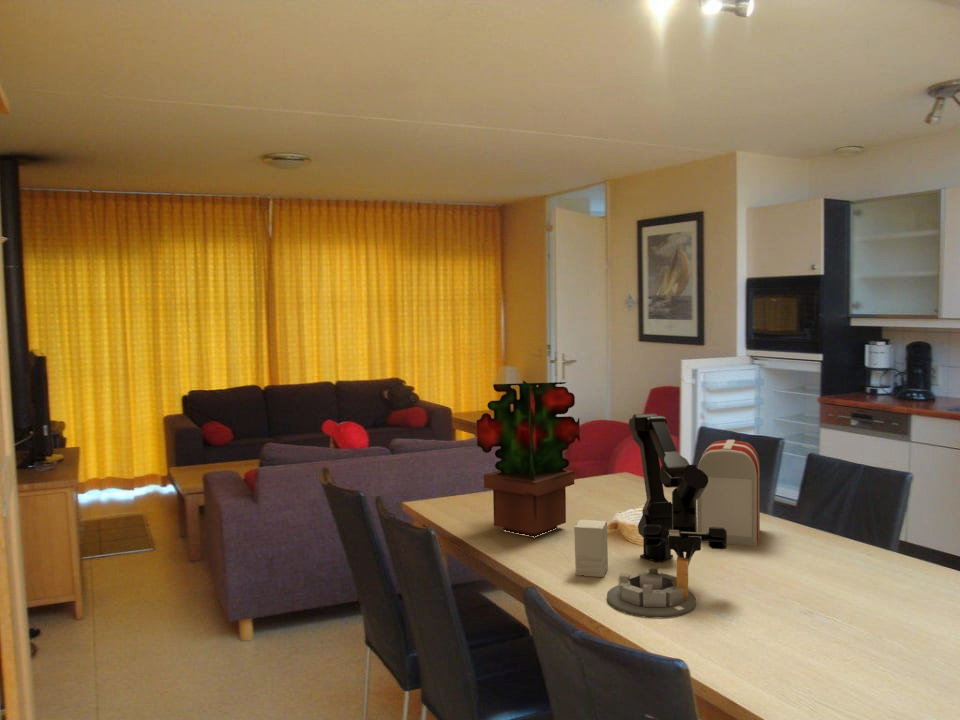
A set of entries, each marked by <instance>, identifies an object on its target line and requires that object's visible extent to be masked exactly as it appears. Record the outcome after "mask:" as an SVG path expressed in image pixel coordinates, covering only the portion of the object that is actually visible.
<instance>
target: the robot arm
mask: <svg viewBox="0 0 960 720" xmlns="http://www.w3.org/2000/svg"><path fill="white" fill-rule="evenodd" d="M628 428H629V429H628V430H630V431H631V436H632V439H633V440H634V442H635V444H637V446H638V447H639V450H640V451H639V453H640V458H641V466H642V473H643V480H644V489H645V494H646V495H645V496H646V501H645V503H644V506H643V508H642V511H641V513H642V515H641V517H640V520H639V523H637V531H638V535H640V536H641V537H642V538H643V539H642V541H643V543H642V544H643V545H642V547H643V553H642V554H640V555H639V557H640V558H642V559H645V560H649V561H654V562H657V563H661V562H664V561H666V560H669V559H672V558H673V557H674V555H673V554H672V550H673V551H674V552H675V553H676V555H677V557H683V558H688V567H689V566H690V563H691V560H692V558H693V556H694V554H695V553H696V552H698V551H701V549H702V541H708V542H707V543H708V547H710V549H713V550H725V549H726V548H727V544H726V542H727V531H726V530H725V529H724V528H719V527H709V533H700V532H697V499H699V497H700V496H701V494H702V493H703V491H704V489H705V488H706V486H707V484H708V476H707V475H706V474H705V473H704V472H703V471H702V470H700V469H698V467H697V465H696V464H690V463H689V461H688V459H686V458H685V457H683V456H682V455H680V453H679V452H678V449H677V447H676V444H675V441H674V440H673V437H672V435H671V432H670V430H669V428H668V421H667V418H666V417H665V416H663V415H658V414H657V413H637V414H633V415H632V417H631V418H630V419H629V420H628ZM664 488H670V489H671V488H674V489H673V490H672V493H671V501H669V500H668V499H667V498H666V496H665V490H664ZM684 553H685V554H684Z"/></svg>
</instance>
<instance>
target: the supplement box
mask: <svg viewBox="0 0 960 720" xmlns="http://www.w3.org/2000/svg"><path fill="white" fill-rule="evenodd" d="M573 530H574V558H575V560H574V562H575V575H576V576H581V575H584V576H585V577H595V578H604V577H605V575H606V574H605V573H607V571H608V570H609V552H608V551H609V549H608V542H609V541H608V521H607V520H594V519H593V520H592V519H579V520H578V521H577V523H576V524H575V526H574V527H573ZM584 576H583V577H584Z"/></svg>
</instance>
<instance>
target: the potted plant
mask: <svg viewBox="0 0 960 720" xmlns="http://www.w3.org/2000/svg"><path fill="white" fill-rule="evenodd" d="M564 384H567V381H563V382H562V381H559V382H557V381H555V382H553V381H552V382H529V383H528V382H527V381H525V380H522V383H521V382H520V383H518V382H517V383H494V384H493V386H492V388H493V390H494V391H496V392H497V393H505V394H502V395H501V396H500V399H499V400H490V401H488V402H487V405H486V406H487V409H489V410H490V411H492V412H493V418H492V416H491V414H490V413H489V412H485V413H482V415H481V417H480V419H477V420H476V442H477V443H476V447H478V448H481V450H482V452H483V453H485V454H489V453H490V452H491V451H492V450H493V448H495V447H500V448H498V449H496V450H495V452H494V456H495V458H497V459H499V461H496V463H495V465H494V468H495V469H496V471H493V472H490V473H486V474H483V488H484V489H489V490H492V491H493V492H492V493H493V497H492V499H493V501H492V502H493V505H492V506H493V526H495V527H499V528H502V531H503V530H506V531H510V532H514V533H519V534H525V535H529V536H534V537H535V536H537V535H540V534H542V533H545V532H548V531H550V530H553V529H555V528H557V529H558V526H561V525H563V524H565V523H567V507H566V505H567V499H566V498H567V497H566V495H567V493H566V488H567V487H570V486H572V485H575V471H573V470H565V469H566V468H568V467H569V466H570V462H569V459H567V458H565V457H564V455H563V452H564V451H566V450H567V449H569V447H570V445H572V444H573V443H575V441H576V439H577V442H579V443H580V442H581V440H580V439H581V438H580V433H581V432H580V431H581V429H580V417H578V419H577V421H576V420H575V418H574V417H573V416H557V415H565V414H567V413H568V411H569V410H570V409H571V408H573V407H574V406H575V404H576V400H575V399H576V397H575V394H574V393H573V392H570V391H569V390H568V387H566V386H557V385H564ZM513 386H518V387H519V393H518V392H517V390H516V389H515V388H512V387H513ZM518 394H519V396H518ZM518 397H519V398H518ZM511 405H512V406H511ZM511 407H512V409H511ZM512 410H513V411H512Z"/></svg>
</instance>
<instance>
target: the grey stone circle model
mask: <svg viewBox="0 0 960 720" xmlns="http://www.w3.org/2000/svg"><path fill="white" fill-rule="evenodd" d="M644 584H648V585H653V590H662V577H661V576H660V575H657V574H643V575H641V576H640V588H641V589H643V586H644ZM606 601H607V603H608V605H609V606H611V608H613V607H614V608H613V609H615V610H616V611H619V610H620V611H619V612H621V611H622V612H621V613H624V612H625V613H624V614H627V613H628V615H631V614H632V615H631V616H636V615H637V616H636V617H642V616H645V617H644V618H653V617H663V618H674V617H679V616H683V615H686V614H689V613H690V612H692V611H694V610H695V608H696V607H697V597H696V595H695V594H694V593H693V592H691V591H690V590H688V600H684V601H683V602H680V603H678V604H675V605H673V606H667V605H666V607H643V605H641V606H638V605H635V604H632V603H629V602H626V601H623V600H622V599H620V596H619V584H618V585H615V586H613V587H612V588H610V589H609V590H608V591H607V593H606ZM673 616H674V617H673Z"/></svg>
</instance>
